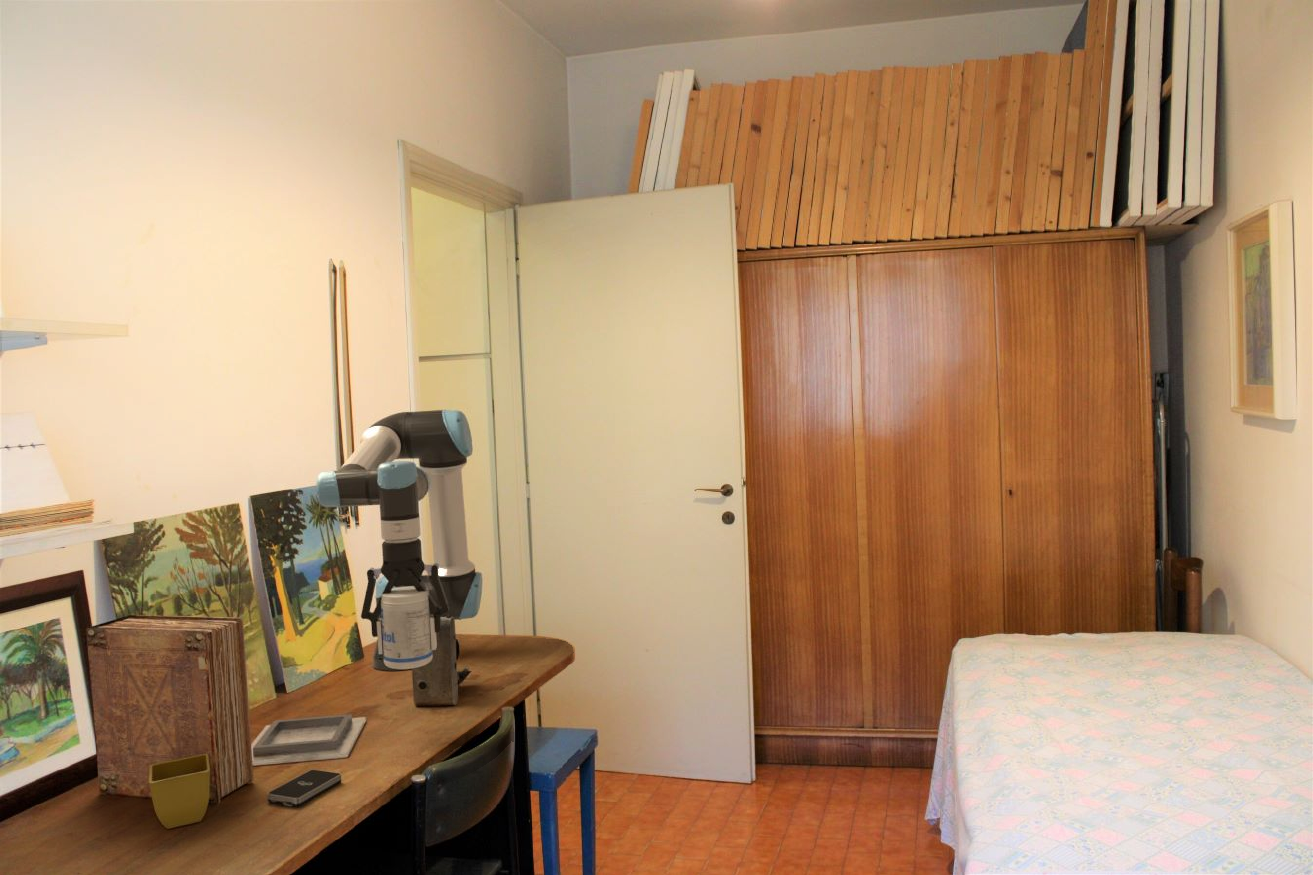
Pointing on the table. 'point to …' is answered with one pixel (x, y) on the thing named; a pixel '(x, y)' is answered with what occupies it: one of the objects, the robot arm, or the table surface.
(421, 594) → the supplement tub
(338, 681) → the table surface
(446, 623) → the vintage camera
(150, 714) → the book
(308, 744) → the mounting plate
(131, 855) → the table surface
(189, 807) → the flower pot
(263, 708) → the table surface
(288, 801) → the external hard drive
